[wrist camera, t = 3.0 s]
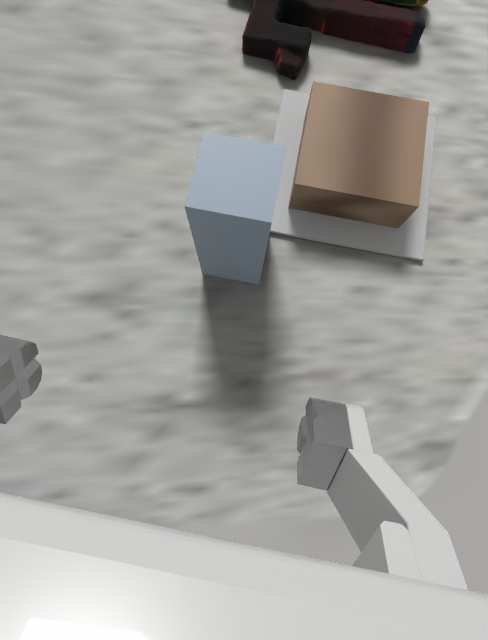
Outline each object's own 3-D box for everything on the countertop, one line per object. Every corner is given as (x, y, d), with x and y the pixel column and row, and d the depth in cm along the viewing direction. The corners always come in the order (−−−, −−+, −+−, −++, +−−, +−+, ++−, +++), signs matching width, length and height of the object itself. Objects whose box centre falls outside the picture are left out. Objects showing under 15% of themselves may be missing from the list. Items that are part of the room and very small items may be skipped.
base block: (288, 207, 26) (294, 183, 23) (305, 115, 28) (313, 81, 25) (398, 228, 26) (419, 206, 23) (408, 133, 27) (428, 102, 25)
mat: (255, 229, 26) (255, 227, 25) (283, 92, 28) (283, 89, 28) (421, 261, 26) (423, 259, 25) (434, 119, 28) (436, 116, 28)
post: (202, 274, 25) (184, 206, 16) (214, 222, 26) (203, 131, 17) (259, 284, 25) (271, 222, 16) (269, 232, 26) (286, 146, 17)
